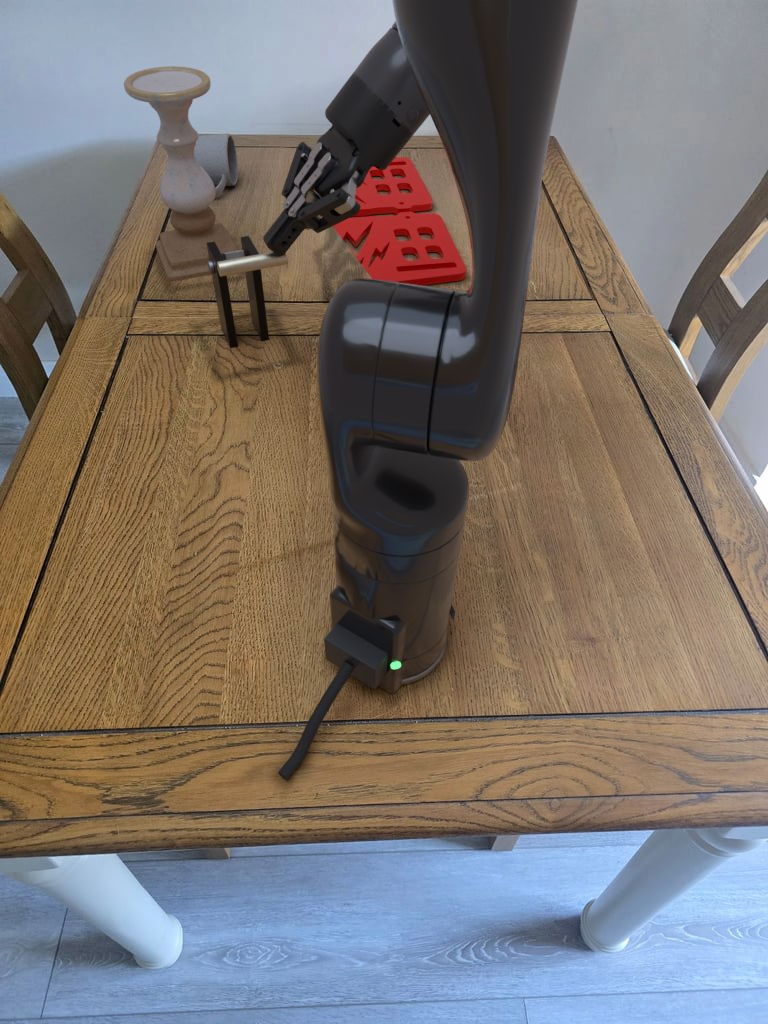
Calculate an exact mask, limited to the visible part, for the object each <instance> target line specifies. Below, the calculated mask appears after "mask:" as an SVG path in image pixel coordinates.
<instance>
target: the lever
mask: <svg viewBox="0 0 768 1024" xmlns="http://www.w3.org/2000/svg"><path fill="white" fill-rule="evenodd" d="M221 254H222V256H223V258H224V261H219V262H217V269H218V272H219V275H220V276H227V277H228V276H234V275H239V274H244V273H245V272H248V271H254V270H259V269H261V270H264V269H270V268H274V267H279V266H285V265H287V264H288V256H287V252H286V253H285V254H284V255H283V256H278V255H277V254H276V253H274V252H273V251H268V252H263V253H259V254H257V255H252V256H246V257H245V254H244V250H242V249H238V251H232V252H226V253H221Z"/></svg>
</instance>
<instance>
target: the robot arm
mask: <svg viewBox="0 0 768 1024" xmlns="http://www.w3.org/2000/svg"><path fill="white" fill-rule="evenodd" d="M391 1H392V8H393V13H394V19H395V21H394V22H393V23H392V25H391V27H390V28H389V29H388V30H387V31H386V33H384V34H383V36H382V37H381V38H380V39H378V41H377V42H376V43H375V44H374V45H372V47H371V48H370V50H368V52H367V53H366V55H365V56H364V58H363V59H362V60H361V61H360V63H359V64H358V66H357V67H356V68H355V70H354V71H353V72H352V73H351V75H350V76H349V77H348V79H347V80H346V82H345V83H344V84H343V86H341V88H340V89H339V91H338V92H337V94H336V95H335V96H334V98H333V99H332V101H331V102H330V103H329V104H328V106H327V107H326V109H325V110H324V115H325V118H326V120H327V121H328V122H329V123H330V124H331V126H330V128H328V130H327V131H326V132H325V133H323V134H322V135H321V136H320V137H318V140H317V141H316V144H315V145H311V146H309V145H308V144H307V143H305V142H304V141H301V142H299V144H298V145H297V146H296V149H295V152H294V155H293V158H292V161H291V164H290V167H289V170H288V173H287V176H286V179H285V181H284V185H283V188H282V190H281V195H282V197H284V198H285V201H284V202H283V204H282V208H283V211H282V212H281V213H280V214H279V216H278V217H277V218H276V219H275V221H274V222H273V223H272V224H271V226H270V227H269V229H268V230H267V231H266V233H264V235H263V237H262V240H263V242H264V244H265V246H266V247H267V249H269V250H270V252H274V253H276V254H277V255H278V256H283V255H284V254H285V253H286V254H287V252H288V251H289V249H291V247H292V246H293V244H294V243H295V242H296V240H297V239H298V238H299V237H300V236H301V234H302V233H303V232H304V231H305V230H306V231H309V230H312V231H313V232H315V233H316V234H319V233H321V232H324V231H325V230H328V229H330V228H332V227H333V226H334V225H336V224H338V223H340V222H342V221H344V220H346V219H348V218H353V217H355V216H354V215H356V214H357V213H358V212H359V210H360V208H361V206H360V204H359V203H358V202H357V201H356V200H355V194H356V189H357V188H358V187H360V186H361V185H362V183H363V182H364V180H365V178H366V175H367V173H368V172H369V170H370V168H371V167H373V166H375V167H376V168H377V169H378V170H385V169H386V168H387V167H388V166H389V164H390V163H391V162H392V161H393V159H394V158H395V157H398V154H399V153H400V152H401V151H402V150H403V148H404V147H405V146H406V145H407V143H408V142H409V141H410V140H411V138H412V137H413V136H414V135H415V133H416V132H417V131H418V130H419V128H420V127H421V126H423V124H424V122H425V121H426V120H427V119H428V117H429V116H430V117H431V120H432V122H433V125H434V126H435V129H436V132H437V133H438V136H439V138H440V141H441V143H442V146H443V149H444V151H445V154H446V157H447V160H448V162H449V165H450V169H451V171H452V176H453V179H454V182H455V185H456V188H457V191H458V195H459V198H460V202H461V206H462V209H463V213H464V217H465V220H466V221H465V222H466V224H467V229H468V236H469V244H470V250H471V264H472V269H471V270H472V272H471V273H472V275H471V284H470V287H469V289H467V290H459V289H456V290H455V289H453V288H444V287H438V286H430V285H416V284H408V283H400V282H394V281H386V280H378V279H372V278H366V277H363V278H362V277H361V278H360V277H359V278H354V279H350V280H347V281H346V282H344V283H343V284H342V285H340V286H339V287H338V289H337V290H336V291H335V292H334V293H333V295H332V297H331V299H330V300H329V302H328V304H327V306H326V308H325V309H326V310H325V312H324V314H323V318H322V322H321V326H320V330H319V336H318V343H317V344H318V345H317V361H316V362H317V366H316V369H317V370H316V374H317V375H316V381H317V395H318V396H317V397H318V405H319V406H318V407H319V416H320V422H321V429H322V430H321V431H322V436H323V444H324V451H325V459H326V467H327V481H328V491H329V495H330V500H331V502H332V514H333V515H332V516H333V540H334V542H333V544H334V563H335V565H334V566H335V582H336V583H335V584H336V586H335V587H334V589H333V590H332V591H331V592H330V594H329V604H330V605H329V608H330V625H331V629H330V631H329V632H328V633H327V635H326V636H325V637H324V639H323V641H324V642H323V643H324V653H325V654H324V655H325V660H326V661H327V662H329V663H330V664H332V665H334V666H335V667H337V668H339V670H338V671H337V673H336V674H335V675H334V677H333V678H332V680H331V681H330V684H329V685H328V686H327V687H326V690H325V691H324V693H323V695H321V698H320V700H319V701H318V703H317V705H316V706H315V708H314V710H313V711H312V713H311V715H310V717H309V719H308V721H307V723H306V725H305V727H304V729H303V731H302V734H301V736H300V739H299V740H298V742H297V745H296V747H295V748H294V750H293V751H292V753H291V755H290V756H289V758H288V759H287V761H286V762H285V763H284V764H283V765H282V767H280V769H279V770H278V771H277V772H278V775H279V776H280V777H281V778H282V779H284V780H286V781H289V779H290V778H291V777H292V776H293V774H294V773H295V772H296V771H297V769H298V768H299V767H300V765H301V764H302V762H303V760H304V759H305V757H306V755H307V753H308V752H309V750H310V748H311V746H312V744H313V741H314V739H315V737H316V735H317V733H318V730H319V729H320V726H321V724H322V722H323V721H324V719H325V717H326V715H327V713H328V712H329V711H330V709H331V707H332V705H333V703H334V702H335V700H336V699H337V697H338V695H339V694H340V692H341V690H342V689H343V688H344V686H345V684H346V683H347V681H348V679H349V678H350V676H352V677H354V679H357V680H358V681H359V682H362V683H363V684H365V685H366V686H368V687H370V688H371V689H373V690H376V689H377V688H378V687H379V688H381V689H382V690H383V691H385V692H387V693H389V694H390V695H394V694H396V693H397V691H398V690H399V689H400V688H401V686H405V685H409V684H412V683H415V682H418V681H420V680H422V679H423V678H425V677H426V676H428V675H429V674H431V673H433V671H434V670H435V669H436V668H437V667H438V665H439V664H440V662H441V660H442V659H443V657H444V654H445V651H446V646H447V641H448V629H449V622H450V618H451V620H452V621H454V620H455V615H456V611H455V609H454V606H453V604H452V603H453V596H454V590H455V585H456V578H457V571H458V567H459V560H460V554H461V547H462V542H463V537H464V531H465V525H466V519H467V512H468V507H469V502H470V501H469V499H470V483H469V482H470V481H469V478H468V474H467V471H466V468H465V467H464V466H463V464H462V462H461V461H466V462H478V461H482V460H485V459H487V457H489V456H490V455H491V454H492V453H493V452H494V450H495V449H496V447H497V446H498V444H499V443H500V440H501V438H502V435H503V433H504V431H505V427H506V425H507V420H508V416H509V413H510V410H511V406H512V400H513V396H514V390H515V384H516V377H517V371H518V367H519V366H518V365H519V358H520V352H521V344H522V335H523V327H524V321H525V319H524V318H525V311H526V305H527V304H526V303H527V297H528V296H527V295H528V287H529V281H530V273H531V265H532V257H533V251H534V250H533V249H534V243H535V242H534V241H535V234H536V226H537V220H538V213H539V211H538V210H539V203H540V197H541V191H542V182H543V177H544V170H545V164H546V158H547V153H548V149H549V142H550V136H551V132H552V128H553V122H554V117H555V113H556V107H557V102H558V97H559V93H560V89H561V88H560V87H561V85H562V84H561V83H562V79H563V78H562V77H563V74H564V69H565V64H566V60H567V56H568V50H569V45H570V41H571V36H572V32H573V27H574V23H575V18H576V14H577V13H576V12H577V8H578V3H579V0H391ZM314 190H315V191H316V192H315V191H314Z"/></svg>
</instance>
